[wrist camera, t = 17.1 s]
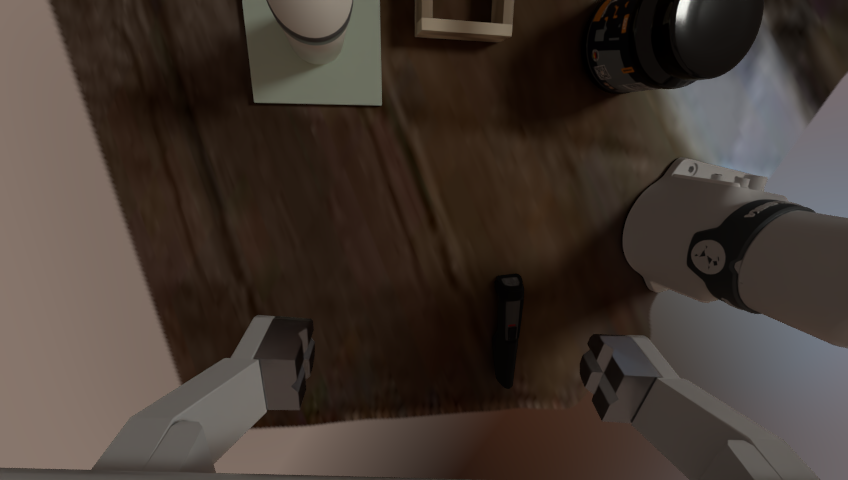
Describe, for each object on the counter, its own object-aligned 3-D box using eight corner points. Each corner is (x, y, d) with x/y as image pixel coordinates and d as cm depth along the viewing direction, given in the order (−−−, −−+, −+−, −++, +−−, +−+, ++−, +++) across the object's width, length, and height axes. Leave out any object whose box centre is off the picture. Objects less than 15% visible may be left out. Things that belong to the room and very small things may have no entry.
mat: (378, -32, 35) (378, -35, 34) (381, 105, 38) (381, 105, 38) (237, -47, 32) (236, -50, 31) (255, 102, 35) (254, 102, 35)
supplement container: (645, -26, 41) (764, -83, 30) (665, 69, 45) (776, 50, 33) (563, 18, 40) (654, -23, 29) (591, 111, 44) (680, 106, 33)
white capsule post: (342, 4, 34) (351, -64, 21) (346, 66, 36) (357, 38, 23) (283, 0, 33) (254, -74, 20) (290, 65, 35) (267, 34, 22)
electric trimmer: (486, 377, 52) (496, 392, 49) (492, 275, 47) (503, 285, 45) (511, 372, 53) (521, 387, 50) (519, 272, 48) (532, 282, 45)
